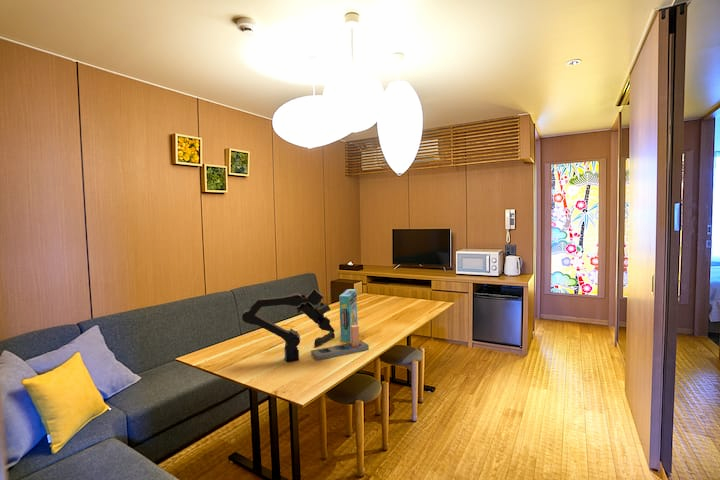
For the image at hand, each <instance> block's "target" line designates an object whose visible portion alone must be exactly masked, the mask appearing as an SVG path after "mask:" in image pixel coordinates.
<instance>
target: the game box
mask: <svg viewBox="0 0 720 480" xmlns="http://www.w3.org/2000/svg"><path fill="white" fill-rule="evenodd" d="M357 295H358V294H357V289H356V288H355V289H354V288H353V289H352V288H349V289H346V290H344V291H343V293H341V294H340V295H339V297H338V299H339V301H338V302H339V322H340V326H339V327H340V328H339V329H340V342H348V343H351V326H352V325H357V326H359V325H358V324H359V322H358V321H359V319H358V300H357V297H358V296H357Z"/></svg>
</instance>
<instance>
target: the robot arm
mask: <svg viewBox="0 0 720 480" xmlns="http://www.w3.org/2000/svg"><path fill="white" fill-rule="evenodd" d="M323 299H324V295H323V294H322V293H321V292H320V291H318V290H317V289H315V288H313V289H312V290H311V292H310V293H309V294H301V293H300V292H295V293H290V294H287V295H283V296H276V297H274V296H273V297H264V298H263V297H259V298H257V299H256V301H255V302H254V303H253V304H252V305H251V307H249V308H247V309H245V311H244V312H243V313H242V315H241V319H242V321H243V322H244V323H245V324H249V325H255V326H258V327H260V328H261V329H264V330H266V331H267V332H270V333H272V334H273V335H276V336H278V337H280V338H281V339H282V340H284V342H285V343H284V357H283V359H284V361H285V362H286V363H291V362H297V361H299V360H300V350H299V349H298V348H299V347H298V346H299V345H300V343H301V336H300V333H299V332H298V331H297V330H294V329H293V328H292V327H291V328H290V329H289V330H288V329H285V328H283V327H281V326H279V325H277V324H275V323H273V322H271V321H270V320H268V319H266V318H264V317H262V316H261V314H259V313H258V312H259V311H260V310H261V308H264V307H273V306H282V305H283V306H284V305H285V306H291V307H292V306H293V307H296V312H297V314H299V313H300V312H301V313H303V314H304V315H305V316H306V317H308V318H309V319H310V320H312V321H313V322H314V324H317V327H318V328H319V330H321V331H327V332H334V333H335V329H334V328H333V327H332V325H331V320H330V319H329V318H328V317H327V316H325V313H328V312H330V311H331V308H330V306H329V304H328V303H326V302H321V301H322V300H323ZM316 305H319V306H318V307H315V306H316Z"/></svg>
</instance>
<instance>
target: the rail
mask: <svg viewBox="0 0 720 480" xmlns="http://www.w3.org/2000/svg"><path fill="white" fill-rule="evenodd" d="M369 349H370V347H369V344H368V343H366V342H365V341H362V340H359V346H356V347H352V346H351V342H346V343H342V344H337V345H332V346H327V347H323V348H317V349H313V350H311V351H310V355H311V357H313V359H315V360H316V361H322V360H326V359H333V358H336V357H340V356H345V355H346V356H347V355H350V354H353V353H354V354H355V353H359V352H364V351H368V350H369Z"/></svg>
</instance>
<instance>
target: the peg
mask: <svg viewBox="0 0 720 480" xmlns="http://www.w3.org/2000/svg"><path fill="white" fill-rule="evenodd" d="M359 330H360V329H359V325H358V326H357V325H352V326H351V341H350V343H351V346H352V347H356V346H359V341H360V333H359V332H360V331H359Z"/></svg>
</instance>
